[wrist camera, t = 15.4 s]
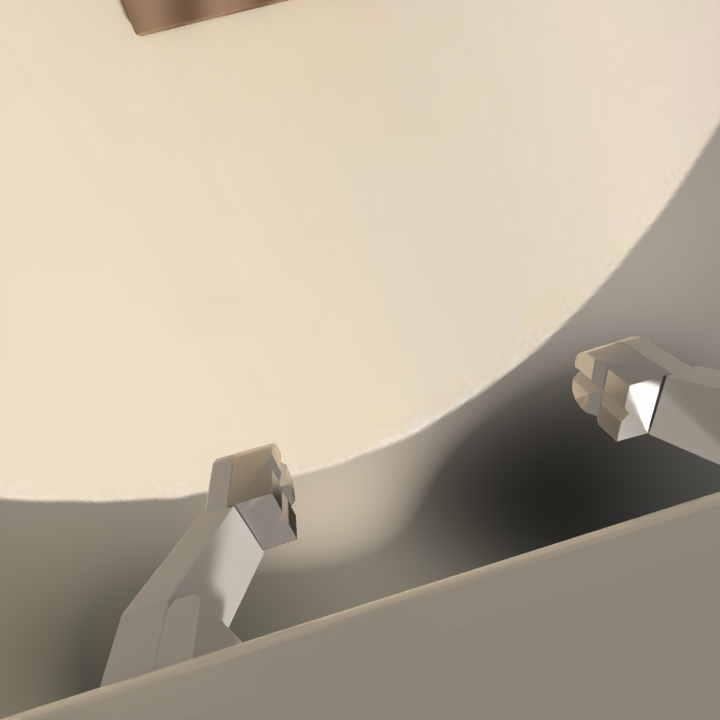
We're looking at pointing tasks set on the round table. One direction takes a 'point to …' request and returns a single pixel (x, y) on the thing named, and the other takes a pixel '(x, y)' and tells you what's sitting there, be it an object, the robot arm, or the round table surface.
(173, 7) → the board
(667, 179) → the round table surface
